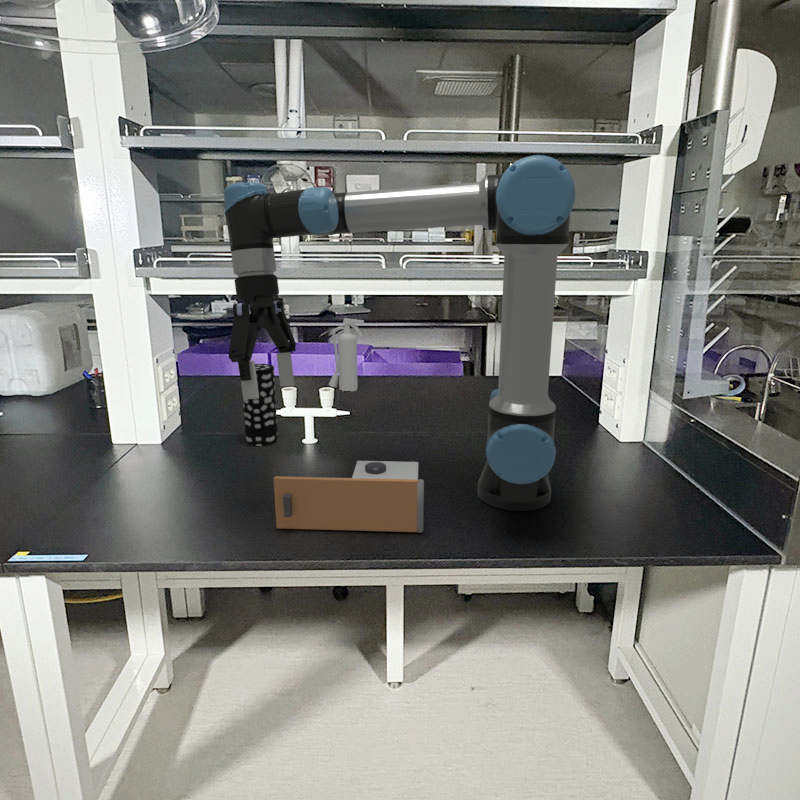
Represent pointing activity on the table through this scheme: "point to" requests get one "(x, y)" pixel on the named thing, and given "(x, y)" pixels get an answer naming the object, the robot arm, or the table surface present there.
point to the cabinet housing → (386, 470)
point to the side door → (349, 504)
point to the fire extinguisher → (346, 356)
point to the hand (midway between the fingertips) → (270, 392)
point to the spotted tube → (262, 410)
